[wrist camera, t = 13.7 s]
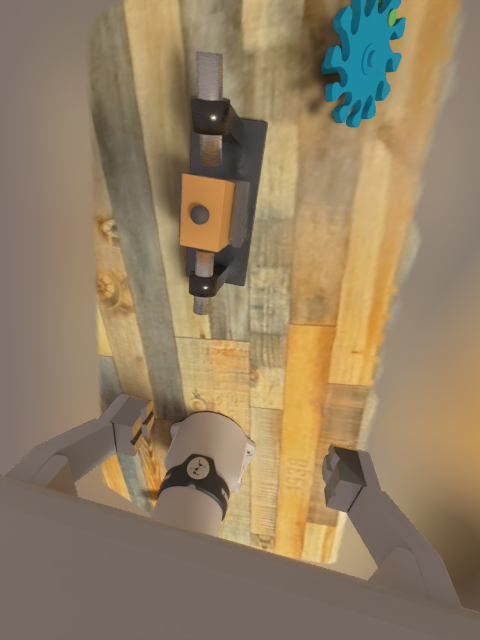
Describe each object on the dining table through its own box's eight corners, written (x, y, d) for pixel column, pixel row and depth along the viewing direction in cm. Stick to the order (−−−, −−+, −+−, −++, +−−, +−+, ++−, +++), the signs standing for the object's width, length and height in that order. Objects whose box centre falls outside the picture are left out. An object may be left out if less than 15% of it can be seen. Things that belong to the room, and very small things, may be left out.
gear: (366, 147, 28) (318, 84, 21) (324, 144, 32) (273, 90, 25) (430, 22, 25) (396, -101, 18) (374, 36, 28) (329, -61, 22)
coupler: (198, 177, 30) (179, 172, 25) (235, 183, 29) (223, 179, 24) (194, 238, 33) (176, 245, 28) (227, 244, 33) (215, 253, 27)
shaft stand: (242, 299, 40) (227, 330, 31) (188, 289, 41) (157, 316, 32) (272, 95, 29) (263, 44, 19) (196, 87, 30) (151, 34, 20)
